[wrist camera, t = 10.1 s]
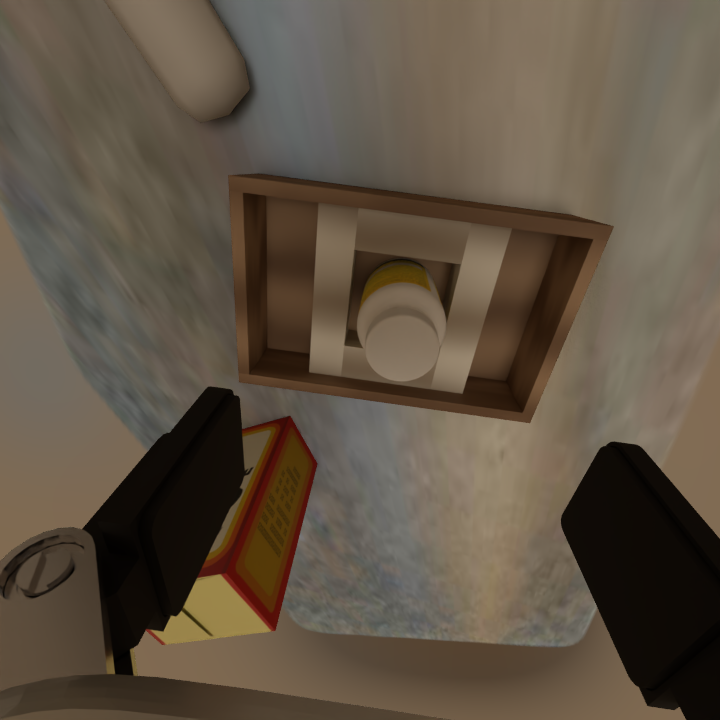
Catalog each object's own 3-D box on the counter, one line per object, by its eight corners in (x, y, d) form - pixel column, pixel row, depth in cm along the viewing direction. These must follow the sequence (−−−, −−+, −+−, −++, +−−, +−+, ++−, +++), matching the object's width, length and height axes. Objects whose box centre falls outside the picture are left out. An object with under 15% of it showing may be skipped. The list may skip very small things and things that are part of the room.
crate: (259, 173, 26) (228, 175, 21) (571, 214, 25) (613, 226, 20) (262, 349, 32) (239, 382, 27) (509, 384, 32) (529, 423, 27)
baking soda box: (290, 415, 36) (223, 579, 21) (317, 463, 38) (273, 637, 24) (209, 438, 38) (100, 600, 24) (240, 482, 40) (159, 650, 26)
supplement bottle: (349, 286, 28) (330, 340, 19) (407, 240, 26) (414, 278, 17) (392, 337, 30) (392, 408, 21) (449, 298, 28) (474, 358, 19)
